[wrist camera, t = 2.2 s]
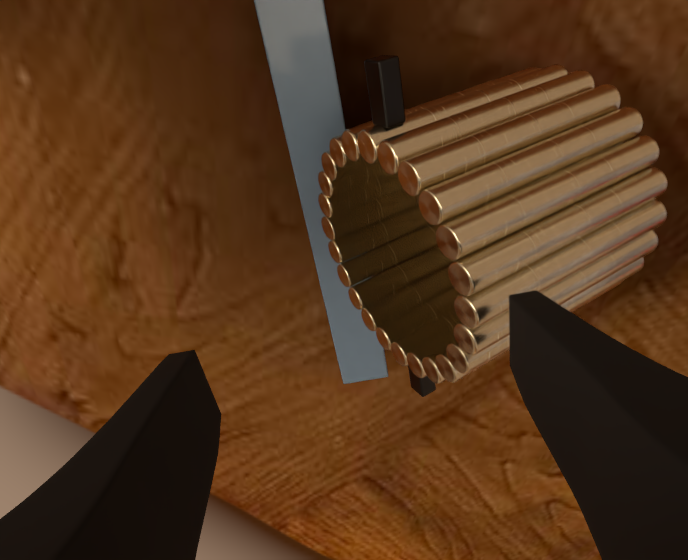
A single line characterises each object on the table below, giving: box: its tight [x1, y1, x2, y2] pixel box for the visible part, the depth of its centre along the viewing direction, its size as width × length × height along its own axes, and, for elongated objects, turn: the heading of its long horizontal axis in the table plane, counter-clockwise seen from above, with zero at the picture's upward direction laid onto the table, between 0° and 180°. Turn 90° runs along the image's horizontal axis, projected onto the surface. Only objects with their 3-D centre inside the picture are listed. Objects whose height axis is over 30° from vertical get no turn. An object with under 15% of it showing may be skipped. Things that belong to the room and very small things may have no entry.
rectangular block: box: [254, 0, 388, 384], centre depth 20 cm, size 2×16×2 cm, turn 10°
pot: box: [318, 55, 667, 397], centre depth 16 cm, size 10×11×10 cm
